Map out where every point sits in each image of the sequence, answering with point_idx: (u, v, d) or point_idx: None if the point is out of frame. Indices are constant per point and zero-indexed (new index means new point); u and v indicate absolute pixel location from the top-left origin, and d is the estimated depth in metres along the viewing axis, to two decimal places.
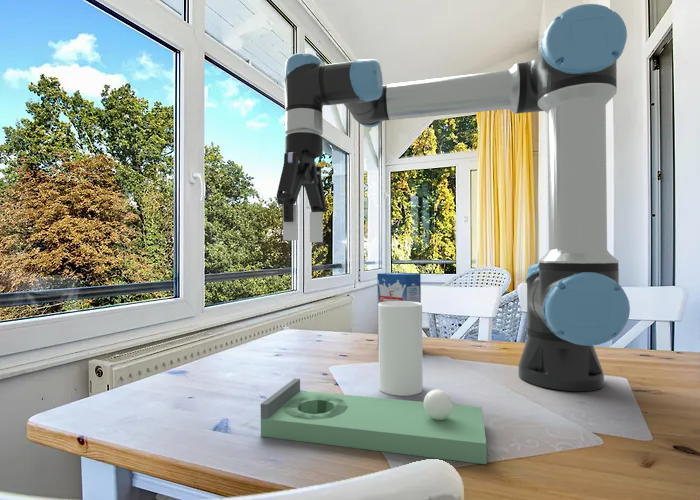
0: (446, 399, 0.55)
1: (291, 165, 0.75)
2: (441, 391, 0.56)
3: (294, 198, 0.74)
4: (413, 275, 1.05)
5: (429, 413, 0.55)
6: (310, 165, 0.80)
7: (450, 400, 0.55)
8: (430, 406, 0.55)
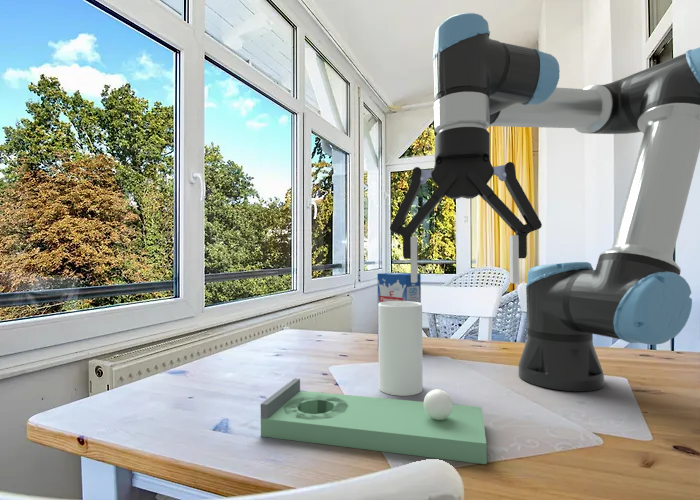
0: (446, 399, 0.55)
1: None
2: (441, 391, 0.56)
3: (406, 229, 0.58)
4: None
5: (429, 413, 0.55)
6: (451, 175, 0.56)
7: (450, 400, 0.55)
8: (430, 406, 0.55)
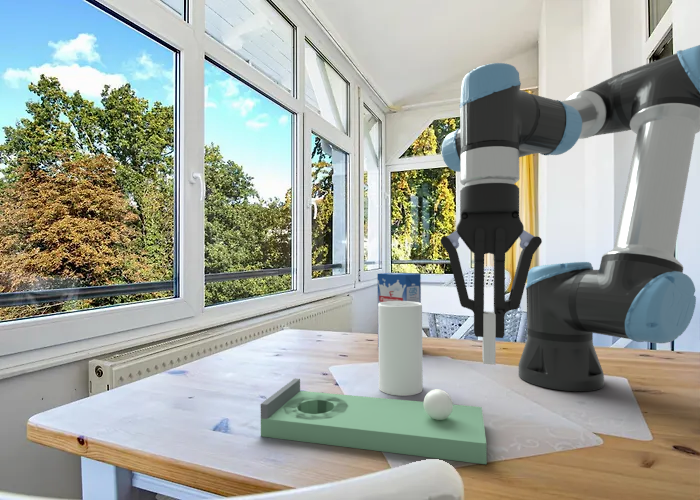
0: (446, 399, 0.55)
1: None
2: (441, 391, 0.56)
3: (477, 306, 0.54)
4: (413, 275, 1.05)
5: (429, 413, 0.55)
6: (478, 233, 0.53)
7: (450, 400, 0.55)
8: (430, 406, 0.55)
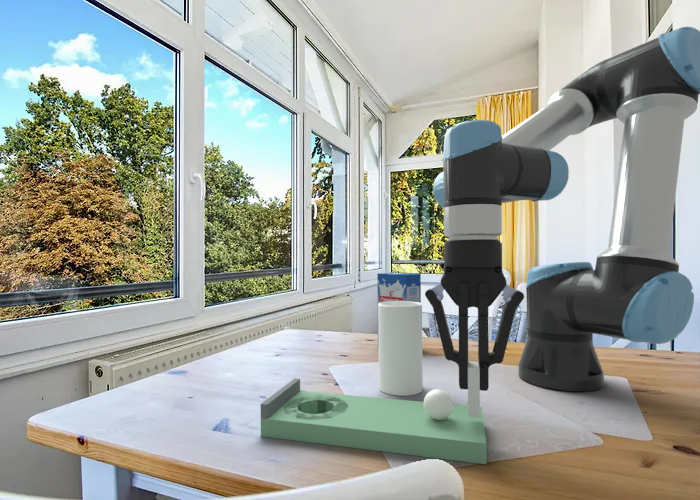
0: (446, 399, 0.55)
1: None
2: (441, 391, 0.56)
3: (461, 359, 0.54)
4: (413, 275, 1.05)
5: (429, 413, 0.55)
6: (461, 288, 0.54)
7: (450, 400, 0.55)
8: (430, 406, 0.55)
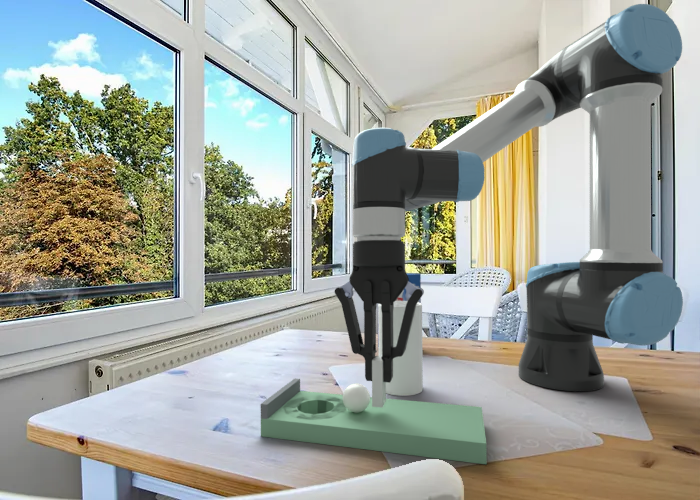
0: (365, 398, 0.58)
1: None
2: (364, 389, 0.58)
3: (366, 352, 0.58)
4: (413, 275, 1.05)
5: (344, 401, 0.58)
6: (366, 285, 0.57)
7: (368, 400, 0.58)
8: (348, 397, 0.58)
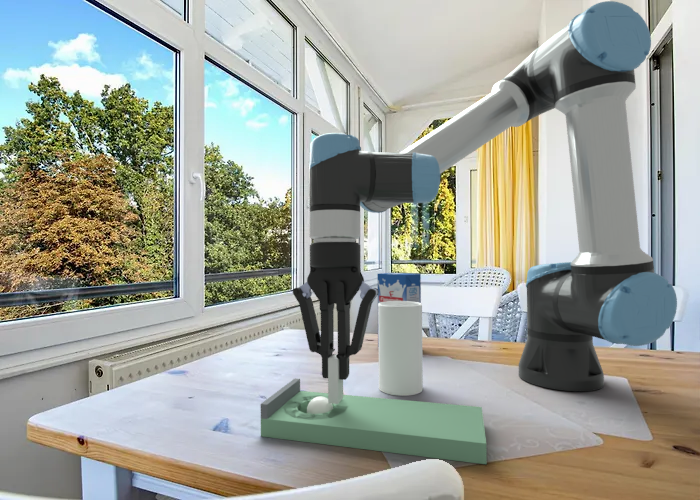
0: (308, 412, 0.60)
1: None
2: None
3: (323, 351, 0.60)
4: (413, 275, 1.05)
5: (328, 407, 0.60)
6: (321, 286, 0.59)
7: (307, 409, 0.60)
8: (323, 412, 0.59)
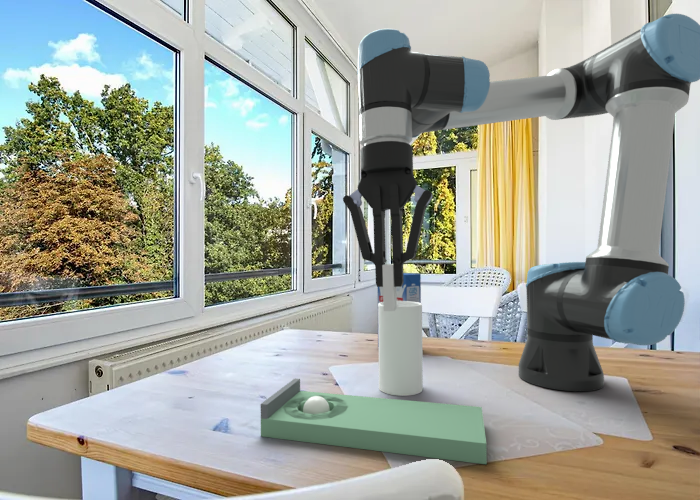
0: None
1: None
2: None
3: (376, 258, 0.58)
4: (413, 275, 1.05)
5: (322, 403, 0.60)
6: (374, 189, 0.57)
7: (303, 412, 0.61)
8: (318, 410, 0.59)
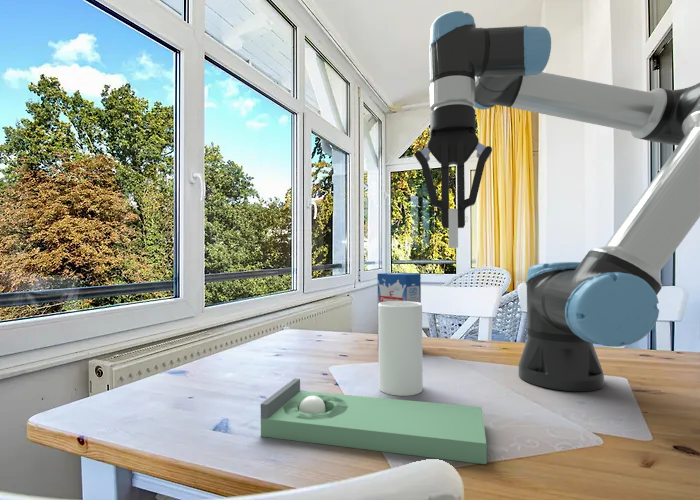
0: None
1: None
2: None
3: (443, 203, 0.69)
4: (413, 275, 1.05)
5: (315, 400, 0.60)
6: (443, 145, 0.68)
7: None
8: (313, 407, 0.60)
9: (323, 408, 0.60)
